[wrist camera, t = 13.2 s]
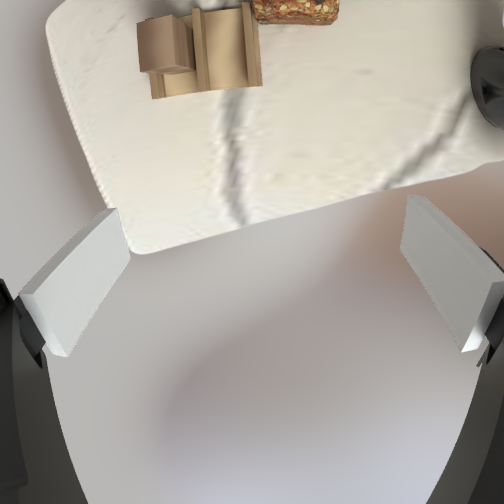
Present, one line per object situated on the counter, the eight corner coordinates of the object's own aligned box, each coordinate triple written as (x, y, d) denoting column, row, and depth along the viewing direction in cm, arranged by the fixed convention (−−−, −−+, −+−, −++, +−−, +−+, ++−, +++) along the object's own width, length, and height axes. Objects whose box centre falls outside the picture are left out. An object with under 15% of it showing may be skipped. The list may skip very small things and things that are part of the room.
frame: (195, 31, 32) (171, 14, 23) (199, 70, 35) (175, 64, 26) (167, 37, 33) (135, 23, 23) (170, 75, 36) (139, 72, 26)
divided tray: (256, 8, 31) (254, 1, 28) (262, 86, 37) (261, 85, 34) (151, 25, 32) (141, 20, 29) (158, 98, 38) (148, 99, 35)
